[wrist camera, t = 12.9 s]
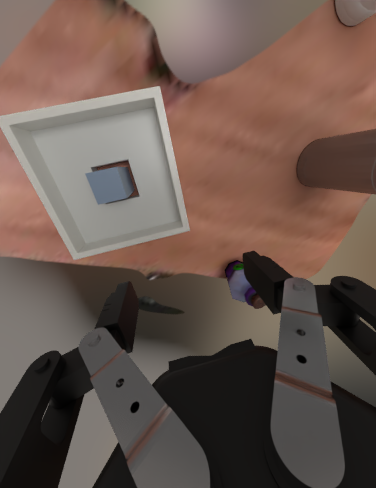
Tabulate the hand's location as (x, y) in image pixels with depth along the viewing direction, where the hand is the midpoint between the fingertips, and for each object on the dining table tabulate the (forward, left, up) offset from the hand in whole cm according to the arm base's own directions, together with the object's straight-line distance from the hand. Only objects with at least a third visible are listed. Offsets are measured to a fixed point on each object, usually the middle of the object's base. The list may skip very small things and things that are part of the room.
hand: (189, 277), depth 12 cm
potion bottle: (-13, +20, -26) cm, 35 cm away
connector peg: (+7, -6, -25) cm, 27 cm away
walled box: (+7, -6, -25) cm, 27 cm away
